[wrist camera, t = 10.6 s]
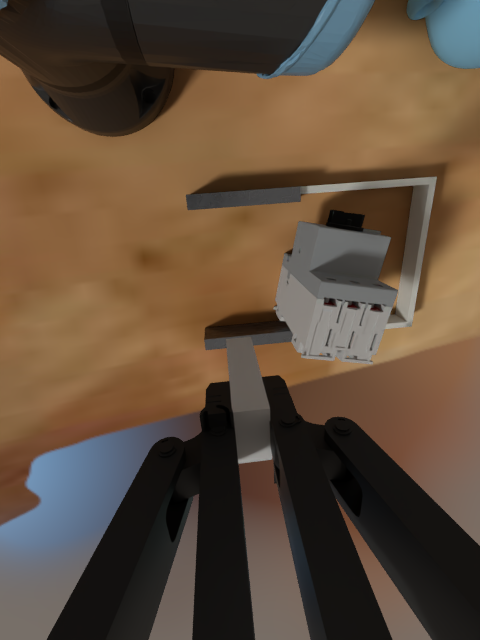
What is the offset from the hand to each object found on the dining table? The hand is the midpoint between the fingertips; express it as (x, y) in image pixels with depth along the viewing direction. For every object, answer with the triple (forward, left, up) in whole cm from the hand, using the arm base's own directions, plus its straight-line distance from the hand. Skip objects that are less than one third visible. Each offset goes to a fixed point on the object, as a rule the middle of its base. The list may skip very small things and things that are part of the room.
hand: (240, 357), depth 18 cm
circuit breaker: (0, +12, -25) cm, 27 cm away
